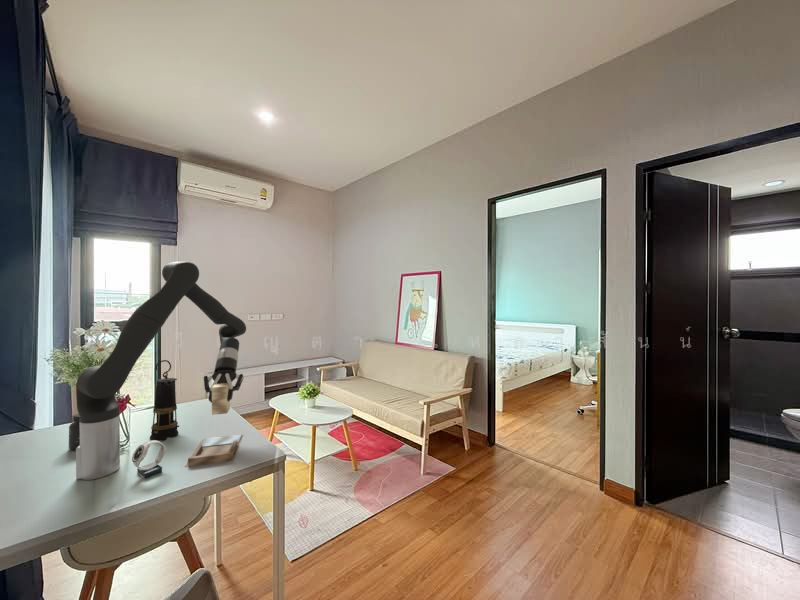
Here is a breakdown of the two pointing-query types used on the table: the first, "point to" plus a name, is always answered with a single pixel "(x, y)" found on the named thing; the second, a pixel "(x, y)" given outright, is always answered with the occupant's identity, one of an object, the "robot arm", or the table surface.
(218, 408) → the birch block
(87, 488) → the table surface
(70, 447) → the supplement bottle
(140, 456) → the watch
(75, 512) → the table surface
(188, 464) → the brown wooden flat tray
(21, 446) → the table surface
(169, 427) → the lantern
